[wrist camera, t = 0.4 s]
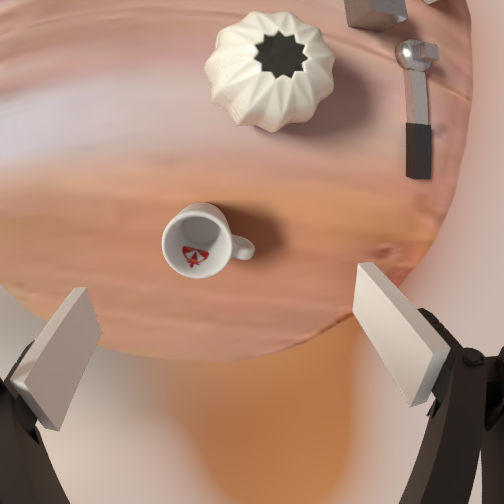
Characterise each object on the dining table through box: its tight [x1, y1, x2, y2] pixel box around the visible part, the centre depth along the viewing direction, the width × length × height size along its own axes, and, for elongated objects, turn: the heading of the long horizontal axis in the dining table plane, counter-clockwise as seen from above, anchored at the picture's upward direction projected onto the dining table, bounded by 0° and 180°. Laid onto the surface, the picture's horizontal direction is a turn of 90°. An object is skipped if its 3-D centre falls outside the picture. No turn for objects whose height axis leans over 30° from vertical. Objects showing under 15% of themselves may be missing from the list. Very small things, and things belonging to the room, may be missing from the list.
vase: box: [203, 11, 336, 133], centre depth 27 cm, size 14×14×13 cm
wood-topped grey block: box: [344, 0, 408, 32], centre depth 26 cm, size 5×5×8 cm
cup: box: [162, 202, 255, 278], centre depth 36 cm, size 11×8×8 cm
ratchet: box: [395, 39, 439, 179], centre depth 32 cm, size 21×5×6 cm, turn 4°
